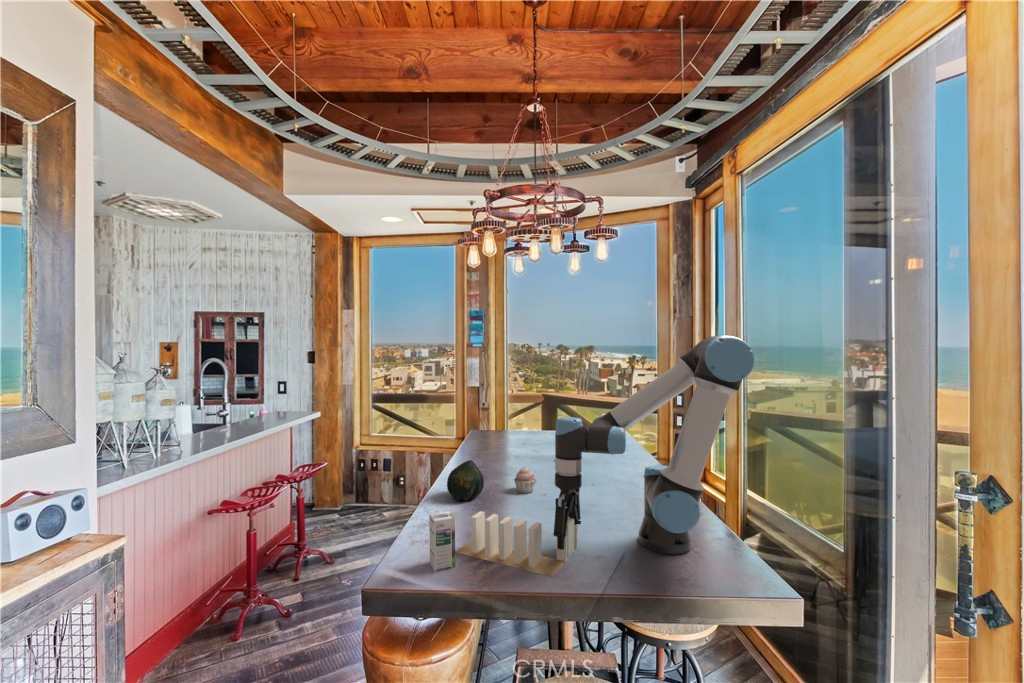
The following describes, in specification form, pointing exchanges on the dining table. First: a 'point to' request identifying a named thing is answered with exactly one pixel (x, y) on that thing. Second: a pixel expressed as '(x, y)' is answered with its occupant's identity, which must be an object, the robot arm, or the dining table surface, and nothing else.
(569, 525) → the domino
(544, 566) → the board
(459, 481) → the squash
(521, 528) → the domino
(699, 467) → the robot arm
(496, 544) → the domino
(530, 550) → the domino
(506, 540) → the domino
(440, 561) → the syrup box
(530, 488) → the cupcake
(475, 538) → the domino
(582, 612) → the dining table surface
